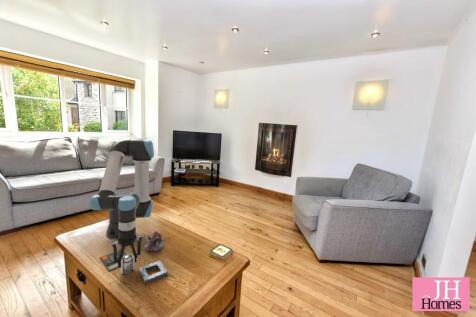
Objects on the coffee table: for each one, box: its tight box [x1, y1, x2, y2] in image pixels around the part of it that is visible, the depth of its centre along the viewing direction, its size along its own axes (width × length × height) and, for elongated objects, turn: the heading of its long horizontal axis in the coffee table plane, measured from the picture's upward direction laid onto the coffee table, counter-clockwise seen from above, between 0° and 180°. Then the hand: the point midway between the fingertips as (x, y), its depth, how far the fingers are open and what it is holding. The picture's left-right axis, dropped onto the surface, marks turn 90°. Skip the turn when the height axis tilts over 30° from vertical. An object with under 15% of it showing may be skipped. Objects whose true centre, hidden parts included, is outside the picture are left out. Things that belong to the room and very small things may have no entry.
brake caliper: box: [143, 231, 165, 252], centre depth 126 cm, size 11×11×12 cm
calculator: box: [99, 249, 127, 272], centre depth 113 cm, size 12×1×15 cm
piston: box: [122, 253, 133, 275], centre depth 105 cm, size 5×5×8 cm
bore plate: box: [137, 260, 168, 285], centre depth 105 cm, size 11×11×2 cm
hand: (127, 270), depth 105 cm, fingers closed on piston, 5 cm apart
